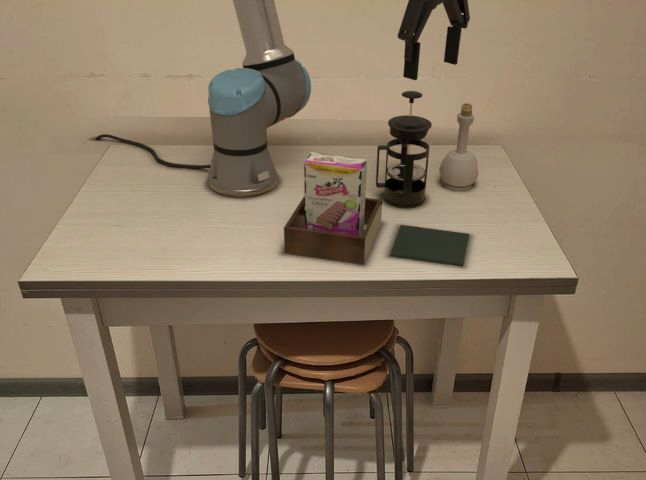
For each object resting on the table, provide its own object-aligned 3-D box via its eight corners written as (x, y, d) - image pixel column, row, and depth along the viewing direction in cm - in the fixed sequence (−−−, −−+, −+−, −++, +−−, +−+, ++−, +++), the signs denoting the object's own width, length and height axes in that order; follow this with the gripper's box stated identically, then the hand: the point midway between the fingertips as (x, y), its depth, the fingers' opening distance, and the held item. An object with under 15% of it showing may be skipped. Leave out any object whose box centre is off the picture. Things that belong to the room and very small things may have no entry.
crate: (284, 253, 133) (283, 227, 130) (308, 214, 146) (307, 190, 143) (364, 264, 131) (365, 238, 128) (381, 223, 144) (382, 199, 140)
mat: (390, 256, 134) (390, 253, 133) (400, 227, 143) (400, 224, 142) (462, 266, 131) (463, 263, 131) (468, 236, 141) (469, 233, 140)
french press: (425, 189, 157) (435, 85, 143) (431, 208, 150) (442, 101, 135) (373, 188, 156) (378, 84, 142) (376, 208, 149) (381, 100, 135)
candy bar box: (304, 240, 138) (302, 161, 127) (310, 228, 141) (309, 151, 131) (359, 248, 136) (362, 168, 125) (364, 235, 140) (367, 157, 129)
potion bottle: (475, 176, 163) (486, 99, 152) (476, 193, 156) (488, 113, 145) (438, 174, 164) (446, 97, 152) (437, 190, 157) (446, 111, 145)
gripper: (419, -45, 111) (408, 90, 125) (498, -60, 127) (481, 61, 140) (382, -51, 115) (375, 80, 128) (464, -66, 130) (450, 53, 144)
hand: (430, 70), depth 134 cm, fingers open, 13 cm apart
